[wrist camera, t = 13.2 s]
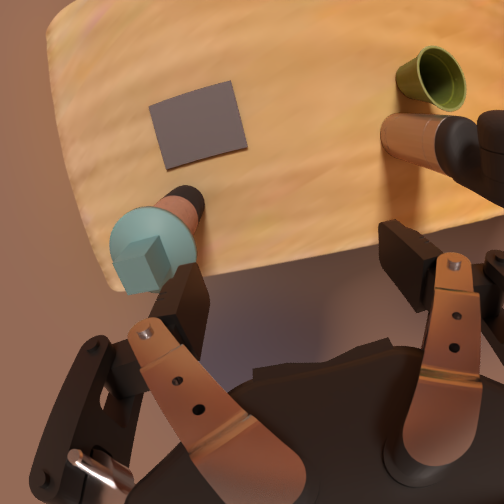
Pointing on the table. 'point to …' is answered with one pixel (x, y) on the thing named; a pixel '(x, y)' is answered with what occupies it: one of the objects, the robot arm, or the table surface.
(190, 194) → the travel mug
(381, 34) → the table surface
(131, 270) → the lid
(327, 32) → the table surface
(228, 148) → the mat
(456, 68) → the plant pot
